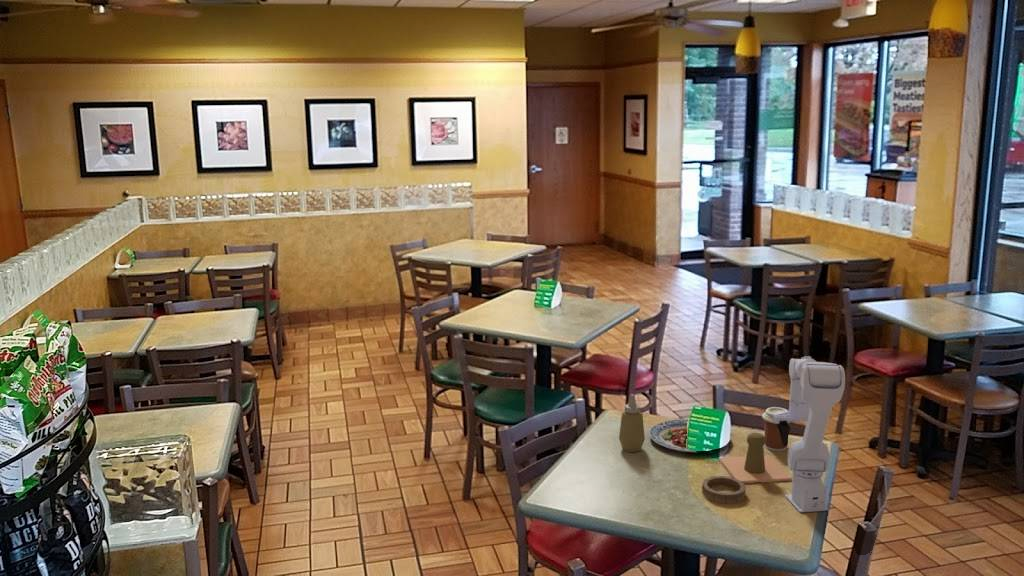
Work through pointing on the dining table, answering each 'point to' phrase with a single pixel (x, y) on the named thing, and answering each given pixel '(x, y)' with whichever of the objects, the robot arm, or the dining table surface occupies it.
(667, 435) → the ceramic plate
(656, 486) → the dining table surface
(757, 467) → the cork
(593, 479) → the dining table surface
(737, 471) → the coaster
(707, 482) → the holder ring
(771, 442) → the coffee cup
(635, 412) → the squeeze bottle
